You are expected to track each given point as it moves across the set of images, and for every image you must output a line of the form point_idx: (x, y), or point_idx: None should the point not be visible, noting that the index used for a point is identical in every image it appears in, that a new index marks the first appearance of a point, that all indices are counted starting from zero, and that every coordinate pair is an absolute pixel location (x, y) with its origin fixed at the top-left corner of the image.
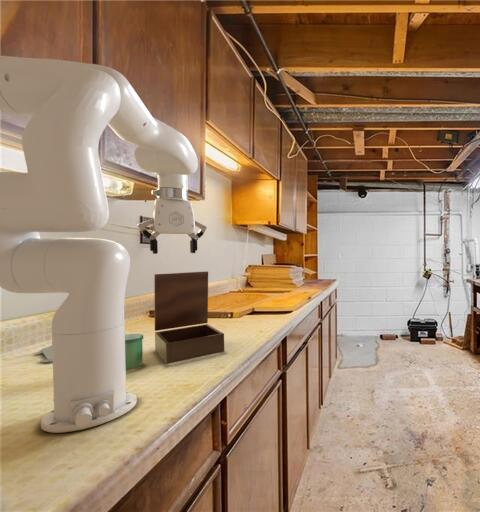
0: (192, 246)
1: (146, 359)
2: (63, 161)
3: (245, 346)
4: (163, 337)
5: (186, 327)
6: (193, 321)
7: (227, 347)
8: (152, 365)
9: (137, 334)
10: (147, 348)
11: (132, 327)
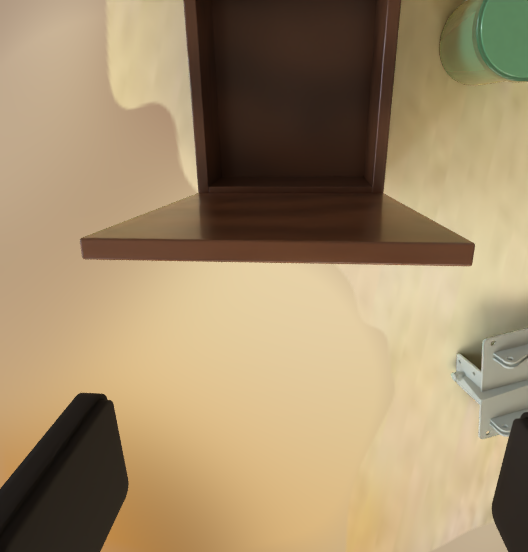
0: (69, 474)
1: (411, 117)
2: None
3: (118, 21)
4: (383, 72)
5: None
6: (247, 194)
7: (174, 60)
8: (416, 24)
9: (494, 39)
10: None
11: (351, 519)
